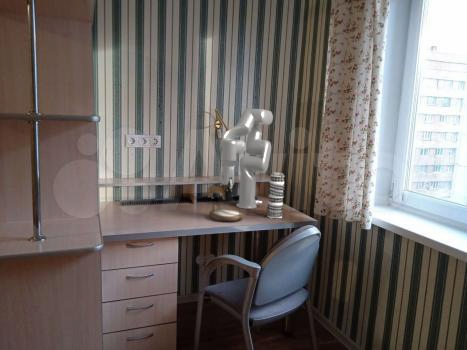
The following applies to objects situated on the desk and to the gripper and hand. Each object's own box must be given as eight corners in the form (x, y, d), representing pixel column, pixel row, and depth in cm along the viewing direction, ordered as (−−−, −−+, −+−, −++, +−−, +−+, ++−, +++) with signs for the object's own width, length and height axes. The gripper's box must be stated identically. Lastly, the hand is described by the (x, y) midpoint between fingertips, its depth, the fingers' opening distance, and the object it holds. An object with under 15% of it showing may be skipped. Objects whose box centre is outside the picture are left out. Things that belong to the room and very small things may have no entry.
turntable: (219, 210, 211) (220, 202, 210) (248, 215, 203) (248, 207, 202) (203, 217, 195) (203, 208, 195) (233, 223, 187) (233, 213, 187)
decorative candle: (262, 215, 208) (265, 171, 204) (275, 214, 213) (278, 171, 209) (273, 219, 200) (276, 174, 197) (286, 218, 206) (289, 173, 202)
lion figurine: (231, 197, 200) (232, 181, 199) (231, 200, 195) (232, 183, 194) (204, 196, 200) (205, 180, 199) (203, 198, 195) (204, 181, 194)
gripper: (217, 161, 202) (216, 194, 204) (226, 165, 186) (224, 200, 188) (230, 161, 204) (229, 194, 207) (240, 165, 188) (238, 200, 191)
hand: (226, 196), depth 197 cm, fingers closed on lion figurine, 4 cm apart
